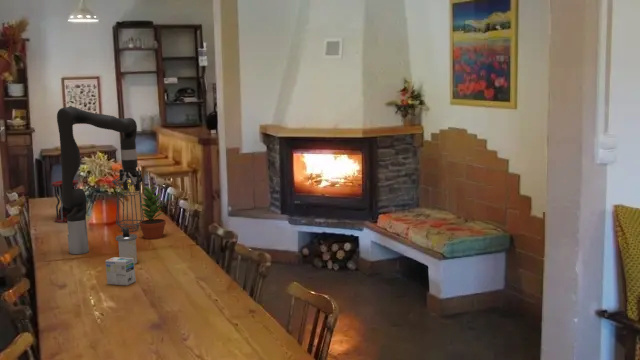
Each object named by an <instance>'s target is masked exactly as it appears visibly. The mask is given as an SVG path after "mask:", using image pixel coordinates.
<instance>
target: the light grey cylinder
mask: <svg viewBox="0 0 640 360" xmlns="http://www.w3.org/2000/svg"><path fill="white" fill-rule="evenodd" d="M117 242H118V243H117V244H118V253H119V255H118V256H119V257H118V258H134V265H135V264H137V263H138V259H137V258H138V253H137V239H135V240H131V241H117Z"/></svg>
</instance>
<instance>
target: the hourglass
mask: <svg viewBox="0 0 640 360" xmlns="http://www.w3.org/2000/svg"><path fill="white" fill-rule="evenodd" d="M78 184H79V180H78V179H77V180H76V179H74V180H73V189H76V188H77V189H78V186H77V185H78ZM51 186H52V187H53V190H54V197H55V198H56V200H57V203H56V205H55V211H56V214H55V215H56V217H55V218H54V222H55V223H59V224H65V223H66V224H67V215H68V214H70V213H71V212H72V211H73V210H74V207H73V208H65V207H64V205H63V203H62V180H56V181H53V182H51ZM59 205H60V207H59Z"/></svg>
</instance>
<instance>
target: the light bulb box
mask: <svg viewBox="0 0 640 360" xmlns="http://www.w3.org/2000/svg"><path fill="white" fill-rule="evenodd" d="M104 263H105V273H106V283H107V285H115V286H116V285H117V286H118V285H119V286H129V285H131V284H133V283H135V282H136V281H137V280H136V269H135V264H134V258H119V257H116V256H114V257H111V258H109V259H108V258H107V259H106V260H105V262H104Z"/></svg>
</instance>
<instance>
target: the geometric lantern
mask: <svg viewBox="0 0 640 360" xmlns="http://www.w3.org/2000/svg"><path fill="white" fill-rule="evenodd" d="M122 178H123V176H122ZM135 178H136V177H135ZM139 180H140V178H139ZM130 181H131V182H130ZM136 181H137V180H136ZM145 181H146V179H145V178H143V177H142V182H141V183H139V186H140V190H139V191H135V190H134V191H129V189H130V188H131V187H132V186H135V183H134V181H133V180H132V179H130V178H129V179H128V181H127V182H128V190H125V191H124V188H123V187H122V185H123V182H122V181H120V176H118V177H117V178H116V179H114V180H112V181H111V184H114V185H115V188H116V214H115V215H116V216H115V224H116V225H117V226H118V227H120V229H121V232H122V233H123V229H122V228H127V227H128V226H132V232H136V231H137V230H139V229H140V226H139V222H141V221H143V220H144V219H145V218H144V216H143V215H144V211H143V210H142V209H141V208H143V205H141V204H143V202H142V201H143V200H142V193H141V191H142V190H141V188H142V186H143V185H142V184H143V183H144V182H145ZM118 187H119V188H120V189H119V191H118ZM121 191H123V192H121ZM137 195H139V210H140V219H138V213H137V204H136V196H137ZM120 196H122V201H123V202H122V220H120V204H119V203H120V199H119V197H120ZM125 197H130V204H131V219H129V214H128V213H129V212H128V211H129V209H128V207H129V205H128V202H129V201H126V219H124V216H125ZM133 199H134V210H135V219H134V211H133ZM125 221H126V222H128V221H129V222H130V221H131V223H132V224H131V223H125ZM134 221H135V222H136V223H134ZM122 222H123V223H122Z"/></svg>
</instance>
